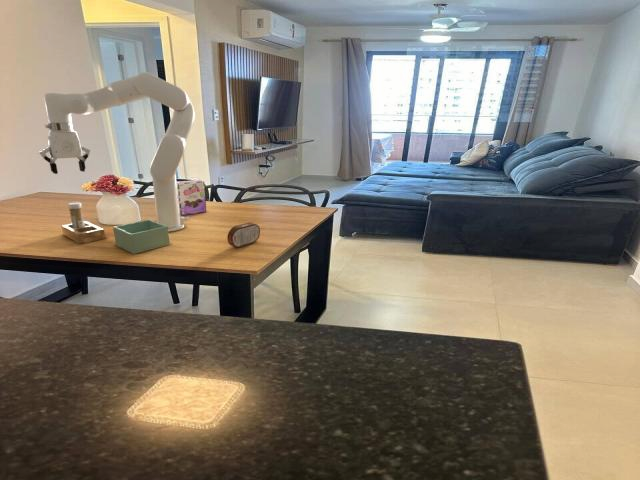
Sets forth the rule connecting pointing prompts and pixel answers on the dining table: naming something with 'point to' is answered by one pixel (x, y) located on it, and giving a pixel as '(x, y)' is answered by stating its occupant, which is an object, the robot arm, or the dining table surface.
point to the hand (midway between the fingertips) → (69, 172)
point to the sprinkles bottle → (76, 214)
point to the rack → (84, 233)
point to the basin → (141, 236)
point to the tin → (243, 234)
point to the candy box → (191, 197)
